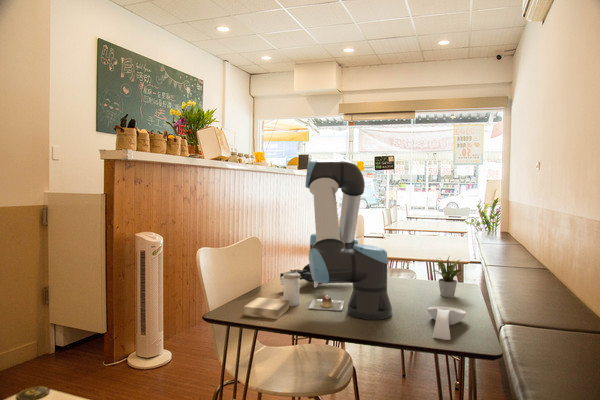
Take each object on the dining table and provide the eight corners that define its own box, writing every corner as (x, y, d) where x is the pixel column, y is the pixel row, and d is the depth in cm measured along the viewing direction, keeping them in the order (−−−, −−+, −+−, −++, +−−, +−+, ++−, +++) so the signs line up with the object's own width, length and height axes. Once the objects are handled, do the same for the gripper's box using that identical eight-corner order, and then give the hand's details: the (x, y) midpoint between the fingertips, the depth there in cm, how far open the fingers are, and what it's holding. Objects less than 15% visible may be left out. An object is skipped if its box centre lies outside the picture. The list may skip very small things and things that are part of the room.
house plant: (426, 299, 158) (427, 257, 158) (424, 290, 172) (425, 252, 171) (465, 301, 155) (466, 259, 154) (460, 292, 168) (461, 253, 168)
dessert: (313, 301, 155) (313, 289, 155) (344, 303, 153) (344, 291, 153) (308, 311, 143) (308, 297, 143) (342, 313, 141) (342, 299, 141)
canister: (302, 302, 152) (302, 273, 152) (297, 307, 146) (297, 276, 146) (286, 300, 154) (286, 272, 154) (280, 305, 148) (280, 275, 148)
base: (288, 308, 144) (289, 300, 144) (277, 319, 133) (277, 310, 133) (257, 305, 148) (257, 297, 147) (243, 315, 136) (243, 306, 136)
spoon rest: (429, 314, 140) (429, 293, 140) (466, 319, 135) (466, 297, 135) (421, 337, 118) (421, 313, 118) (464, 344, 114) (465, 318, 113)
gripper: (340, 282, 175) (329, 294, 155) (285, 278, 182) (268, 289, 162) (340, 265, 175) (329, 275, 155) (285, 261, 182) (268, 270, 162)
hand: (298, 282), depth 158 cm, fingers open, 13 cm apart
